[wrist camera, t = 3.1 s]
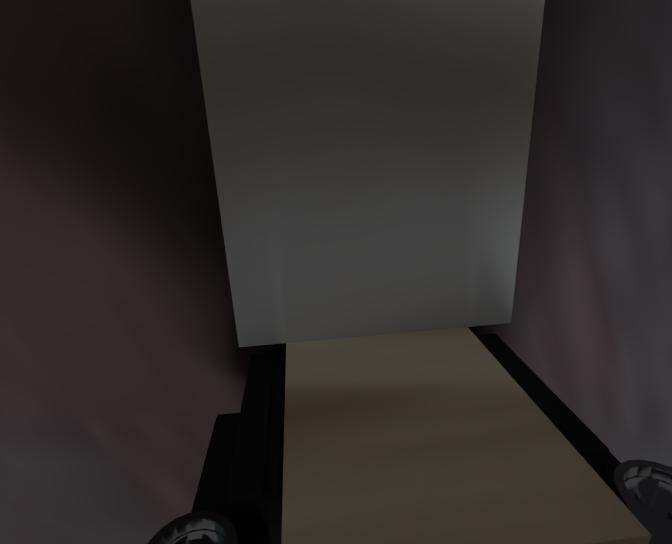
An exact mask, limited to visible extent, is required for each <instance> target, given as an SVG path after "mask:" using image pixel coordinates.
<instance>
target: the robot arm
mask: <svg viewBox="0 0 672 544" xmlns="http://www.w3.org/2000/svg"><path fill="white" fill-rule="evenodd" d="M475 336H476V337H477V338H478V339H479V340H480V342H481V343H482V344H483V345H484V346H485V347H486V348H487V350H488V351H489V352H490V353H491V354H492V355H493V356H494V357H495V359H496V360H497V361H498V362H499V363H500V364H501V365H502V366H503V368H504V369H505V370H506V371H507V372H508V373H509V374H510V376H511V377H512V378H513V379H514V380H515V381H516V382H517V383H518V385H519V386H520V387H521V388H522V389H523V390H524V391H525V393H526V394H527V395H528V396H529V397H530V398H531V399H532V400H533V402H534V403H535V404H536V405H537V406H538V407H539V408H540V410H541V411H542V412H543V413H544V414H545V415H546V416H547V417H548V419H549V420H550V421H551V422H552V423H553V424H554V425H555V427H556V428H557V429H558V430H559V431H560V432H561V433H562V434H563V436H564V437H565V438H566V439H567V440H568V441H569V442H570V444H571V445H572V446H573V447H574V448H575V449H576V450H577V451H578V453H579V454H580V455H581V456H582V457H583V458H584V459H585V460H586V462H587V463H588V464H589V465H590V466H591V467H592V468H593V470H594V471H595V472H596V473H597V474H598V475H599V476H600V477H601V479H602V480H603V481H604V482H605V483H606V484H607V485H608V487H609V488H610V489H611V490H612V491H613V492H614V493H615V494H616V496H617V497H618V498H619V499H620V500H621V501H622V502H623V504H624V505H625V506H626V507H627V508H628V509H629V510H630V511H631V513H632V514H633V515H634V516H635V517H636V518H637V519H638V521H639V522H640V523H641V524H642V525H643V526H644V527H645V528H646V530H647V531H648V532H649V533H650V534H651V538H650V541H649V544H672V467H669V466H666V465H663V464H660V463H657V462H652V461H646V460H628V461H625V462H623V463H620V462H619V461H618V460H617V459H616V458H615V457H614V456H613V455H612V454H611V453H610V452H609V449H608V448H607V447H606V446H605V445H604V444H603V443H602V442H601V441H600V439H599V438H598V437H597V436H596V435H595V434H594V433H593V432H592V431H591V430H590V429H589V428H588V427H587V426H586V425H585V424H584V423H583V422H582V421H581V420H580V419H579V418H578V417H577V416H576V415H575V414H574V413H573V412H572V411H571V410H570V409H569V408H568V407H567V406H566V405H565V404H564V403H563V402H562V401H561V400H560V399H559V398H558V397H557V396H556V395H555V394H554V393H553V392H552V391H551V390H550V389H549V388H548V387H547V386H546V385H545V384H544V383H543V381H542V380H541V379H540V378H539V377H538V376H537V375H536V374H535V373H534V372H533V371H532V370H531V369H530V368H529V367H528V366H527V365H526V364H525V363H524V362H523V361H522V360H521V359H520V358H519V357H518V356H517V355H516V354H515V353H514V352H513V351H512V350H511V349H510V348H509V347H508V346H507V345H506V344H505V343H504V342H503V341H502V340H501V339H500V338H499V337H498V336H497V335H496V334H484V335H475ZM284 417H285V367H284V359H275V355H274V353H273V354H262V355H252V356H251V358H250V363H249V368H248V374H247V379H246V385H245V390H244V396H243V401H242V407H241V413H231V414H221V415H218V416H217V418H216V421H215V424H214V428H213V432H212V436H211V440H210V443H209V447H208V451H207V455H206V459H205V463H204V466H203V470H202V474H201V478H200V482H199V485H198V489H197V493H196V497H195V501H194V505H193V508H192V512H191V513H188V514H185V515H183V516H181V517H178V518H176V519H174V520H173V521H171V522H170V523H168V524H167V525H165V526H164V527H162V528H161V529H160V530H159V531H158V532H157V533H156V534H155V536H154V537H153V538H152V539H151V540H150V541H149V543H148V544H281V541H282V499H283V458H284Z"/></svg>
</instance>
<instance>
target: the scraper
mask: <svg viewBox="0 0 672 544" xmlns="http://www.w3.org/2000/svg"><path fill="white" fill-rule="evenodd" d="M544 4H545V0H191V7H192V14H193V21H194V29H195V36H196V43H197V50H198V57H199V64H200V72H201V79H202V86H203V93H204V100H205V108H206V115H207V122H208V129H209V136H210V143H211V151H212V158H213V165H214V172H215V179H216V186H217V194H218V201H219V208H220V215H221V222H222V230H223V237H224V244H225V251H226V258H227V265H228V273H229V280H230V287H231V294H232V301H233V309H234V316H235V323H236V330H237V337H238V344H239V347H248V346H259V345H270V344H282V343H286V375H285V417H284V458H283V499H282V541H281V544H649V541H650V538H651V534H650V533H649V532H648V531H647V530H646V528H645V527H644V526H643V525H642V524H641V523H640V522H639V521H638V519H637V518H636V517H635V516H634V515H633V514H632V513H631V511H630V510H629V509H628V508H627V507H626V506H625V505H624V504H623V502H622V501H621V500H620V499H619V498H618V497H617V496H616V494H615V493H614V492H613V491H612V490H611V489H610V488H609V487H608V485H607V484H606V483H605V482H604V481H603V480H602V479H601V477H600V476H599V475H598V474H597V473H596V472H595V471H594V470H593V468H592V467H591V466H590V465H589V464H588V463H587V462H586V460H585V459H584V458H583V457H582V456H581V455H580V454H579V453H578V451H577V450H576V449H575V448H574V447H573V446H572V445H571V444H570V442H569V441H568V440H567V439H566V438H565V437H564V436H563V434H562V433H561V432H560V431H559V430H558V429H557V428H556V427H555V425H554V424H553V423H552V422H551V421H550V420H549V419H548V417H547V416H546V415H545V414H544V413H543V412H542V411H541V410H540V408H539V407H538V406H537V405H536V404H535V403H534V402H533V400H532V399H531V398H530V397H529V396H528V395H527V394H526V393H525V391H524V390H523V389H522V388H521V387H520V386H519V385H518V383H517V382H516V381H515V380H514V379H513V378H512V377H511V376H510V374H509V373H508V372H507V371H506V370H505V369H504V368H503V366H502V365H501V364H500V363H499V362H498V361H497V360H496V359H495V357H494V356H493V355H492V354H491V353H490V352H489V351H488V350H487V348H486V347H485V346H484V345H483V344H482V343H481V342H480V340H479V339H478V338H477V337H476V336H475V335H474V334H473V333H472V331H471V330H470V329H469V328H468V327H472V326H483V325H494V324H506V323H511V317H512V308H513V298H514V289H515V279H516V270H517V260H518V251H519V241H520V232H521V222H522V213H523V203H524V194H525V184H526V175H527V165H528V156H529V146H530V137H531V127H532V118H533V108H534V99H535V89H536V80H537V70H538V61H539V51H540V42H541V32H542V23H543V13H544Z"/></svg>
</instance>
